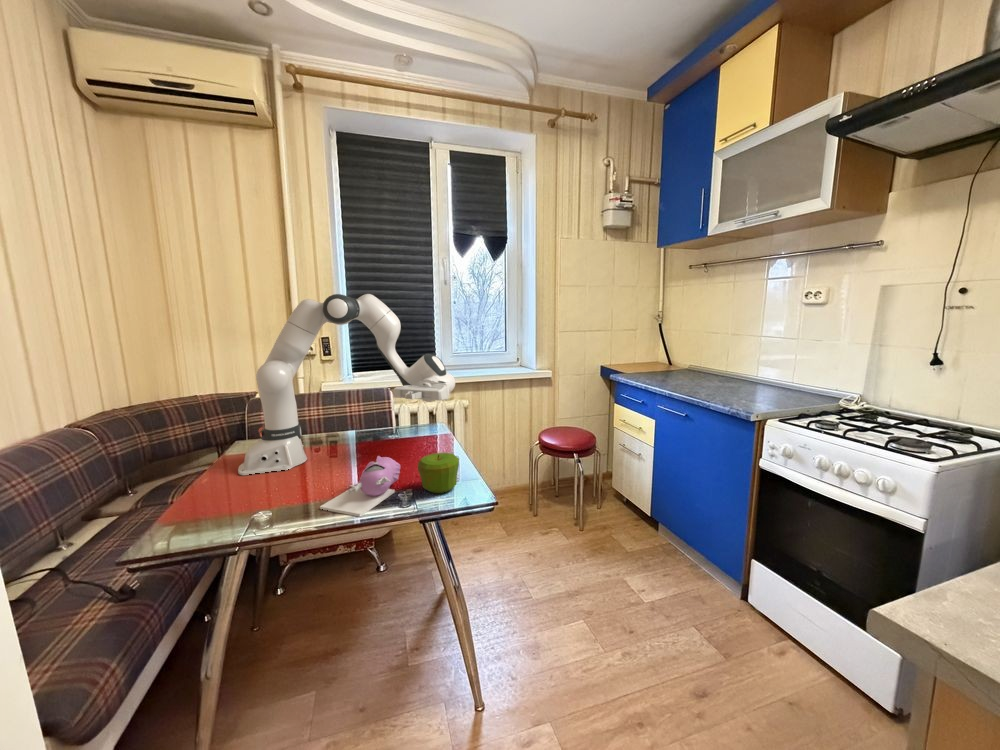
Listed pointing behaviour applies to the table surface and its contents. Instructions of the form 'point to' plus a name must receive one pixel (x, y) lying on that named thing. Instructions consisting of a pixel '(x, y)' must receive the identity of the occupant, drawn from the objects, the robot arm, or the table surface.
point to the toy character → (377, 476)
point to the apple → (438, 472)
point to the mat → (355, 502)
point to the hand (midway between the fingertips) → (408, 396)
